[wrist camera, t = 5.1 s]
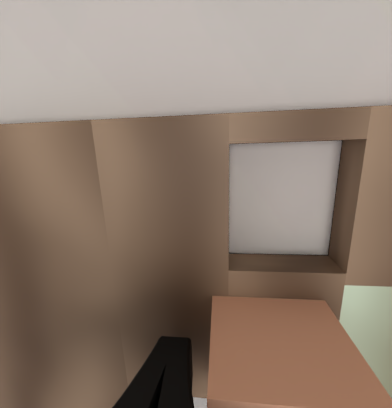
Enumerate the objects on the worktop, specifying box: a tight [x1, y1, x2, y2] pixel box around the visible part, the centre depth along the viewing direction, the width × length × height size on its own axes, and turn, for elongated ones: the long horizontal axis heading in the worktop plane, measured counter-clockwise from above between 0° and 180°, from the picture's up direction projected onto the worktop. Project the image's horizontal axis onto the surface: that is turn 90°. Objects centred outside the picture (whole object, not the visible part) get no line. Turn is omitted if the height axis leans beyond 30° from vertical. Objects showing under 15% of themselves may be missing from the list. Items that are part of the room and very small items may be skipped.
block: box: [207, 296, 392, 408], centre depth 8 cm, size 4×4×4 cm
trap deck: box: [0, 105, 392, 408], centre depth 11 cm, size 25×19×2 cm
